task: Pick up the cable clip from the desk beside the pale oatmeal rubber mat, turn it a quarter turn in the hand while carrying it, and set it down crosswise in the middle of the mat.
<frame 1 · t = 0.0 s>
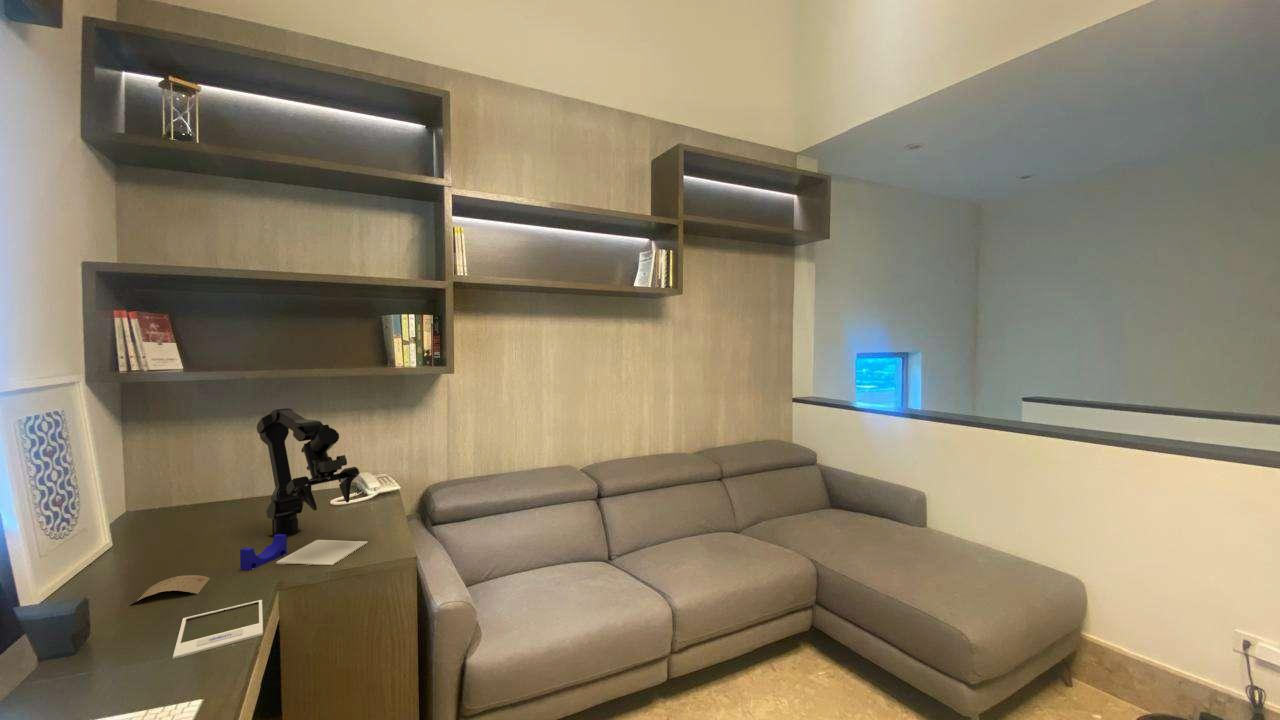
hand: (332, 506, 154), 15 cm above the table, tool tilted 35°, fingers open, 9 cm apart
brown curved sheet: (172, 594, 131), on the table
photo frame: (222, 630, 115), on the table
cable clip: (262, 562, 150), on the table
desk mat: (324, 553, 156), on the table
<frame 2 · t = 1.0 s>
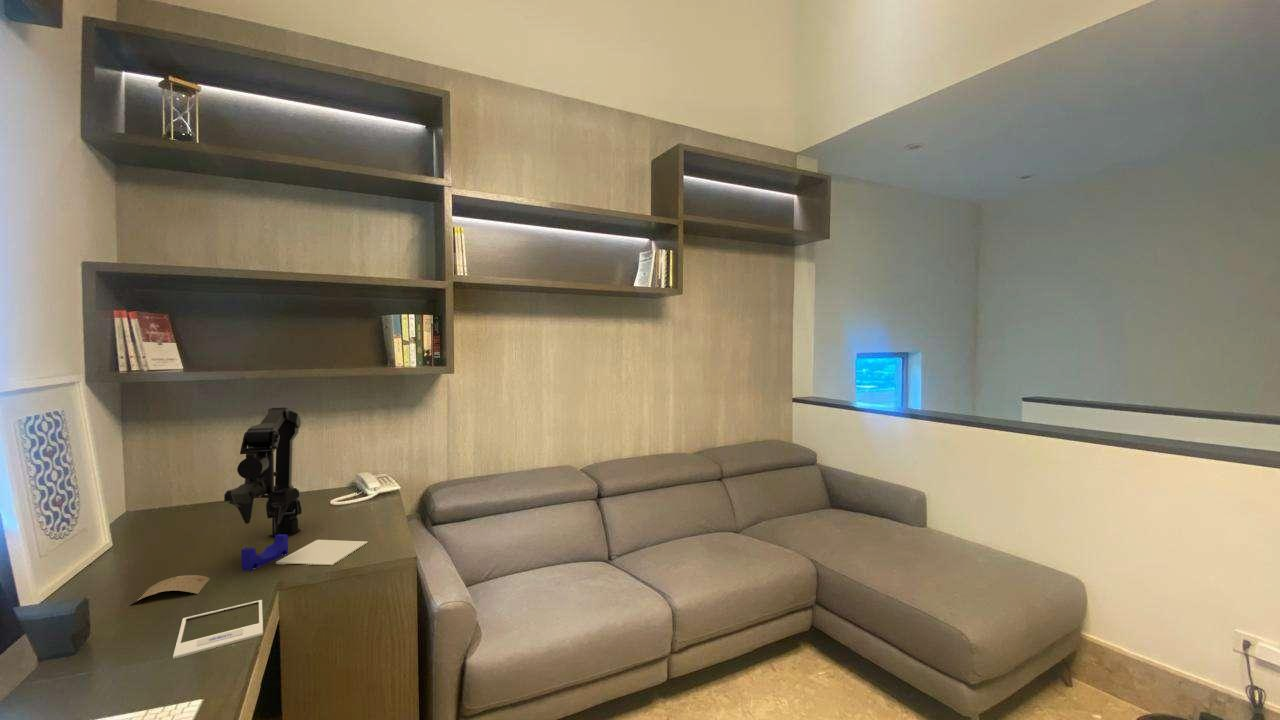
hand: (262, 523, 149), 11 cm above the table, tool pointing down, fingers open, 9 cm apart
nothing on the table moved.
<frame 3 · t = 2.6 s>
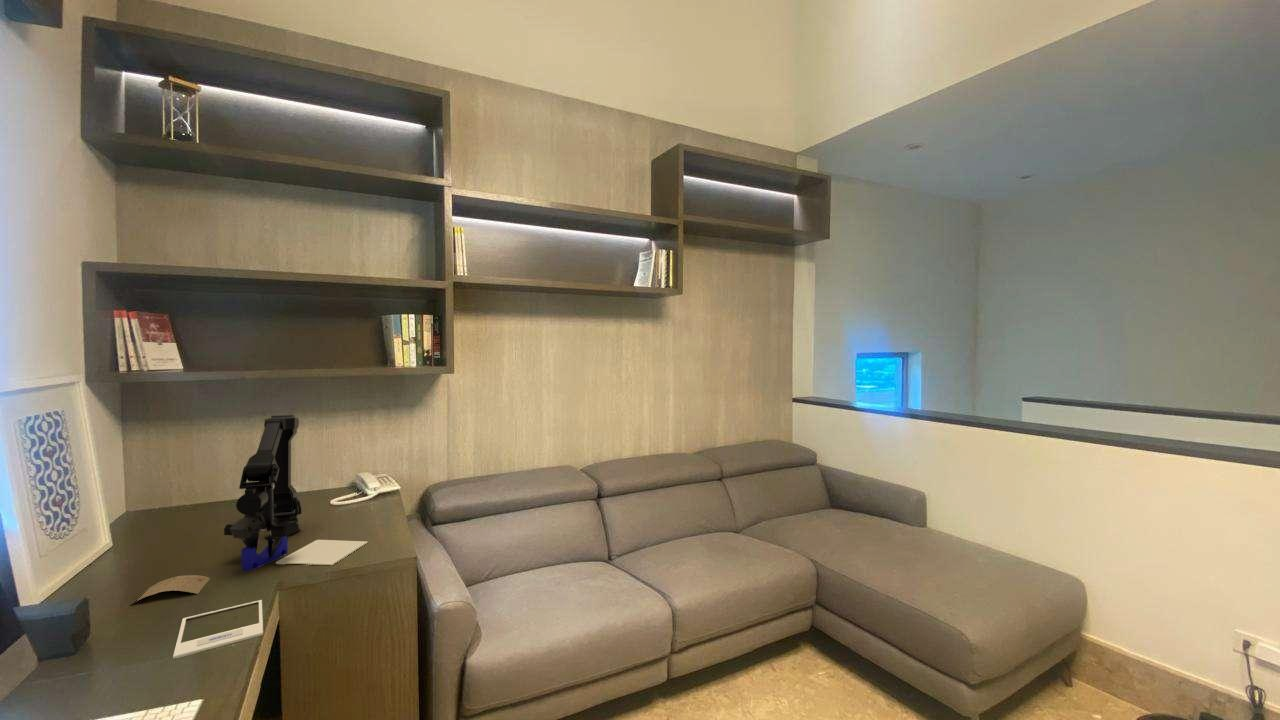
hand: (262, 557, 150), 1 cm above the table, tool pointing down, fingers open, 5 cm apart
nothing on the table moved.
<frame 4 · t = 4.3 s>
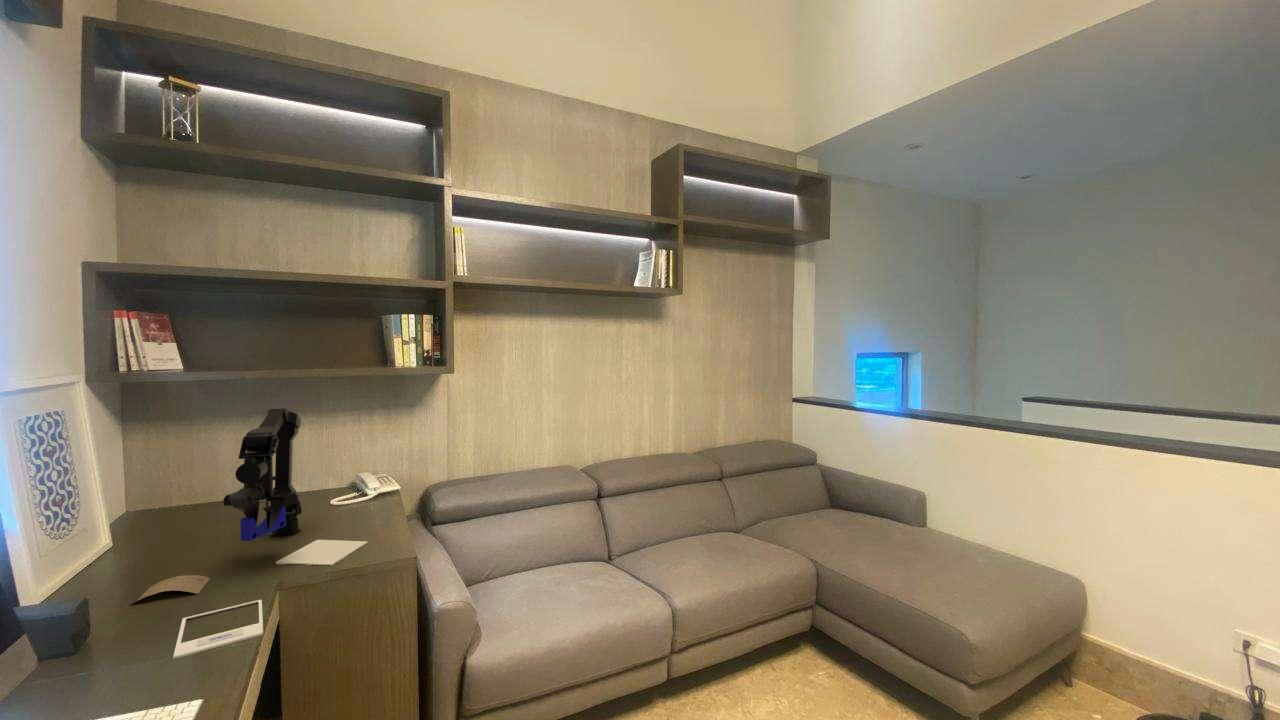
hand: (261, 528, 149), 10 cm above the table, tool pointing down, fingers closed on cable clip, 5 cm apart
cable clip: (262, 533, 150), point 8 cm above the table, touching gripper
everything else where it was.
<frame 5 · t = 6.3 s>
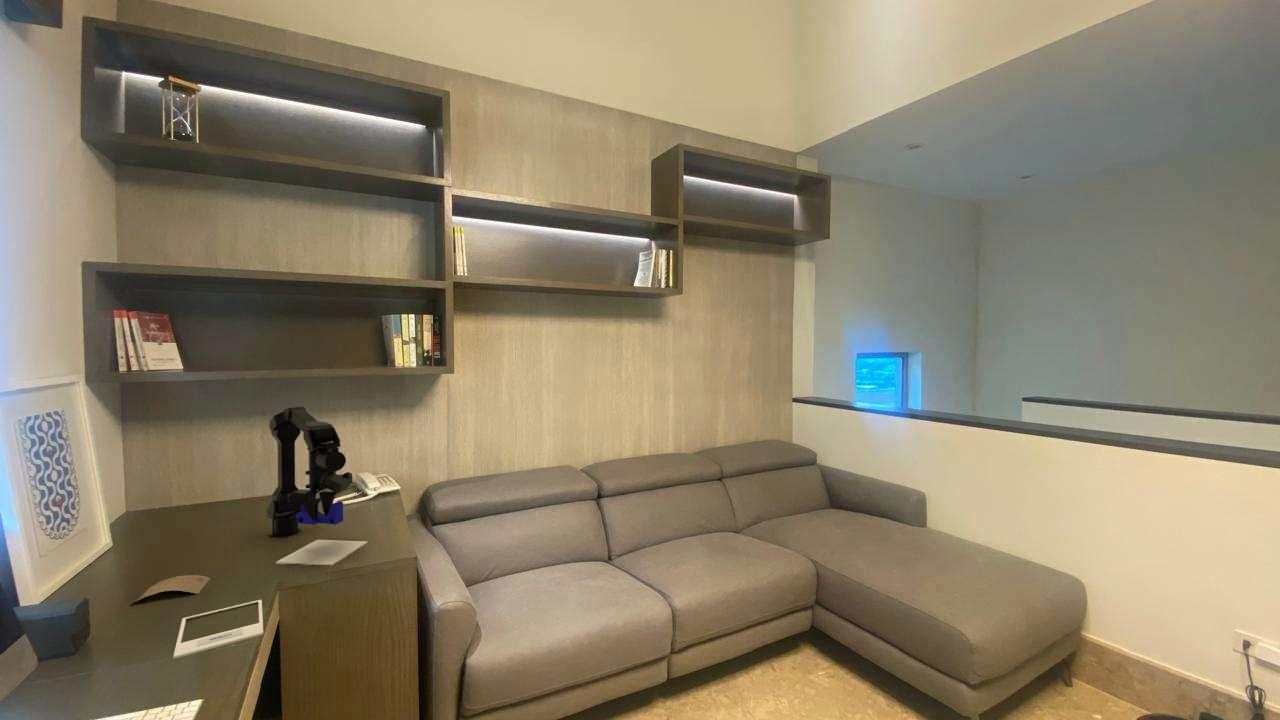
hand: (320, 517, 155), 11 cm above the table, tool pointing down, fingers closed on cable clip, 5 cm apart
cable clip: (320, 522, 155), point 9 cm above the table, touching gripper
everything else where it was.
when the fingers open (3 cm above the table, at t = 9.0 s): cable clip stays where it is, resting on desk mat.
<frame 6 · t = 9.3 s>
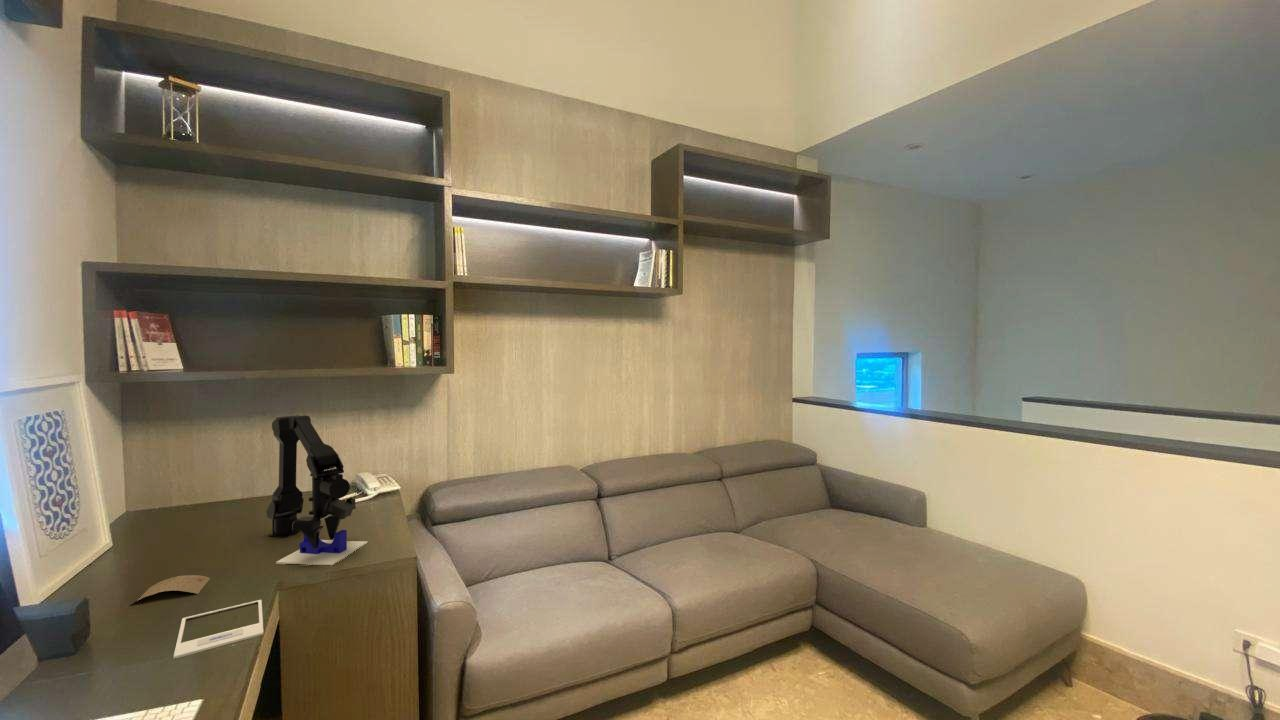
hand: (324, 543, 156), 3 cm above the table, tool pointing down, fingers open, 7 cm apart
cable clip: (323, 551, 156), resting on desk mat
everything else where it was.
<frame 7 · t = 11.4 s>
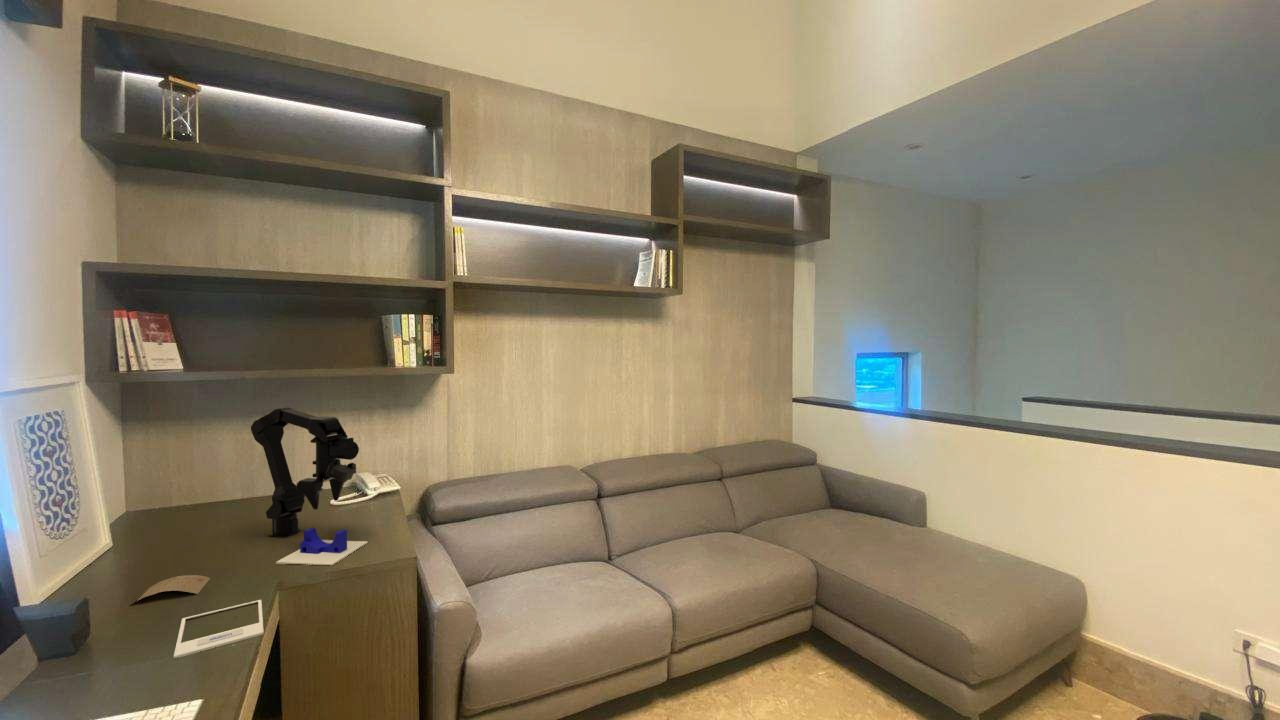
hand: (326, 504, 166), 11 cm above the table, tool pointing down, fingers open, 9 cm apart
nothing on the table moved.
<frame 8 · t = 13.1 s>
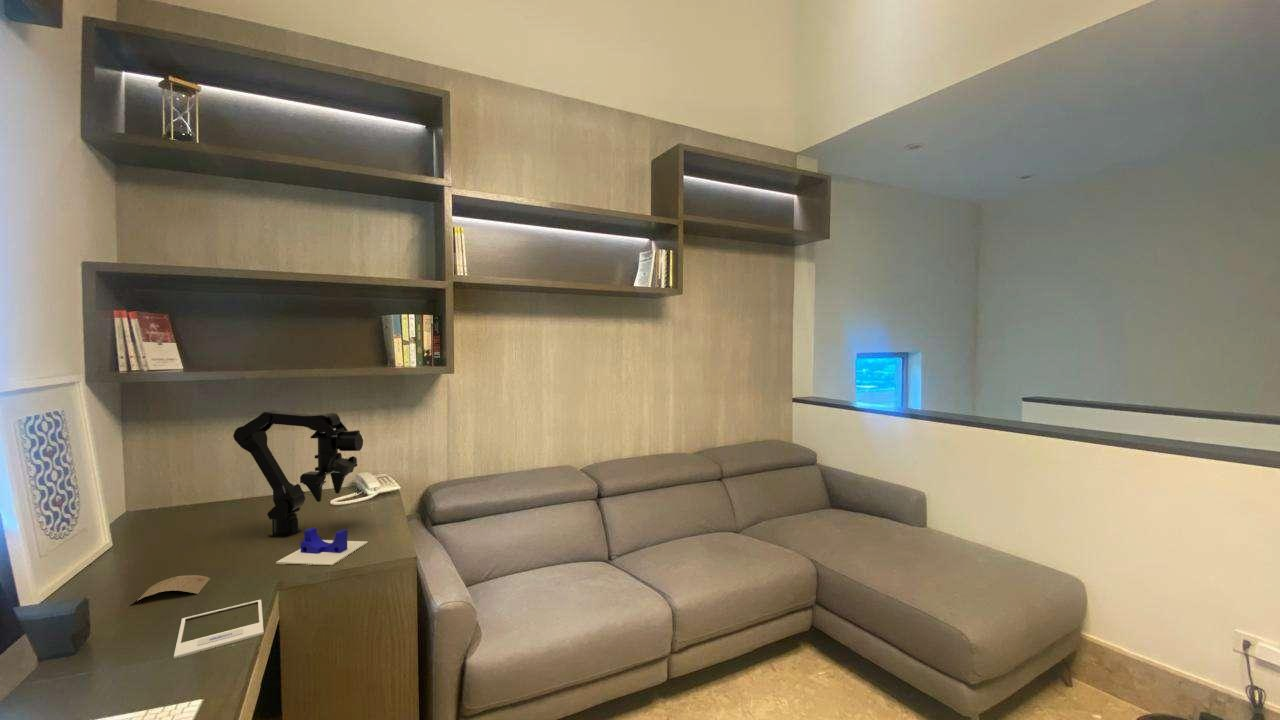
hand: (328, 497, 172), 12 cm above the table, tool pointing down, fingers open, 9 cm apart
nothing on the table moved.
at the end: cable clip inside the target area on the desk mat (0.4 cm from its centre), point 0.4 cm above the desk mat's base; cable clip tilted 0°; the gripper is holding nothing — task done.
